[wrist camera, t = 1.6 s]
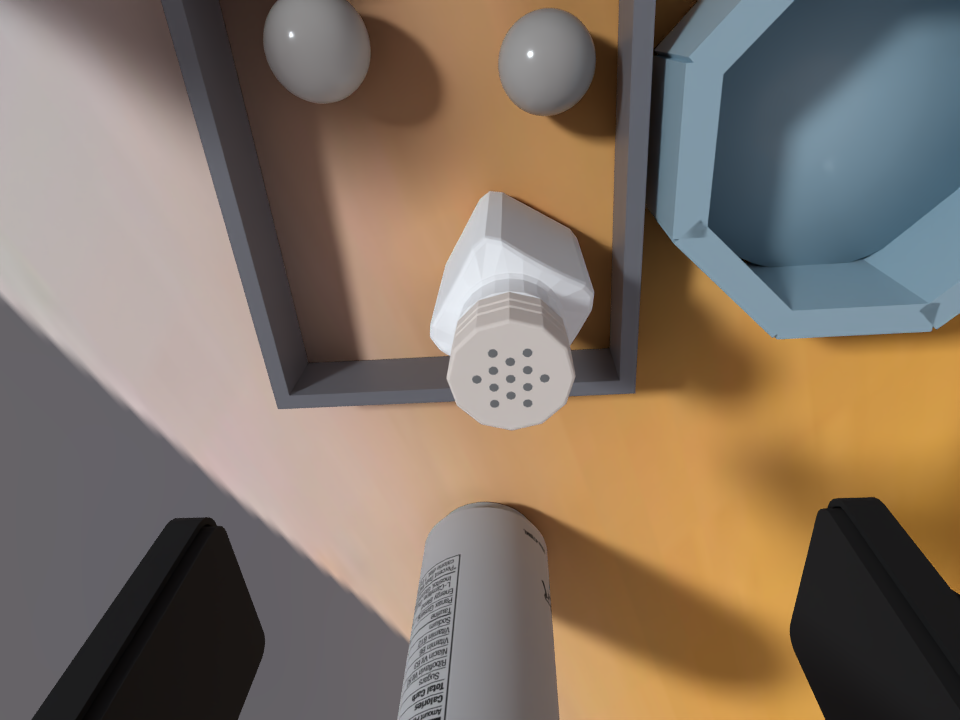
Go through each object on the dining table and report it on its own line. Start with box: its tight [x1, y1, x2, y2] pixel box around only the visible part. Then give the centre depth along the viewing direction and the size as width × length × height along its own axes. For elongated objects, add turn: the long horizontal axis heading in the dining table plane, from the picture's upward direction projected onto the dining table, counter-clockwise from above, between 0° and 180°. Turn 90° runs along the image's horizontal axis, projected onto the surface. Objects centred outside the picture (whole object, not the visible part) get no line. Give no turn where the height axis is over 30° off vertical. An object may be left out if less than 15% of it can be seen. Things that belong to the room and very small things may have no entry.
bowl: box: [645, 0, 960, 339], centre depth 19 cm, size 12×12×4 cm
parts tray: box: [161, 0, 656, 409], centre depth 21 cm, size 16×14×3 cm
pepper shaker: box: [430, 191, 594, 430], centre depth 19 cm, size 4×4×10 cm
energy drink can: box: [397, 502, 559, 720], centre depth 24 cm, size 6×6×15 cm
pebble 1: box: [263, 0, 371, 104], centre depth 19 cm, size 3×3×3 cm
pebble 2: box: [498, 8, 596, 116], centre depth 19 cm, size 3×3×3 cm
